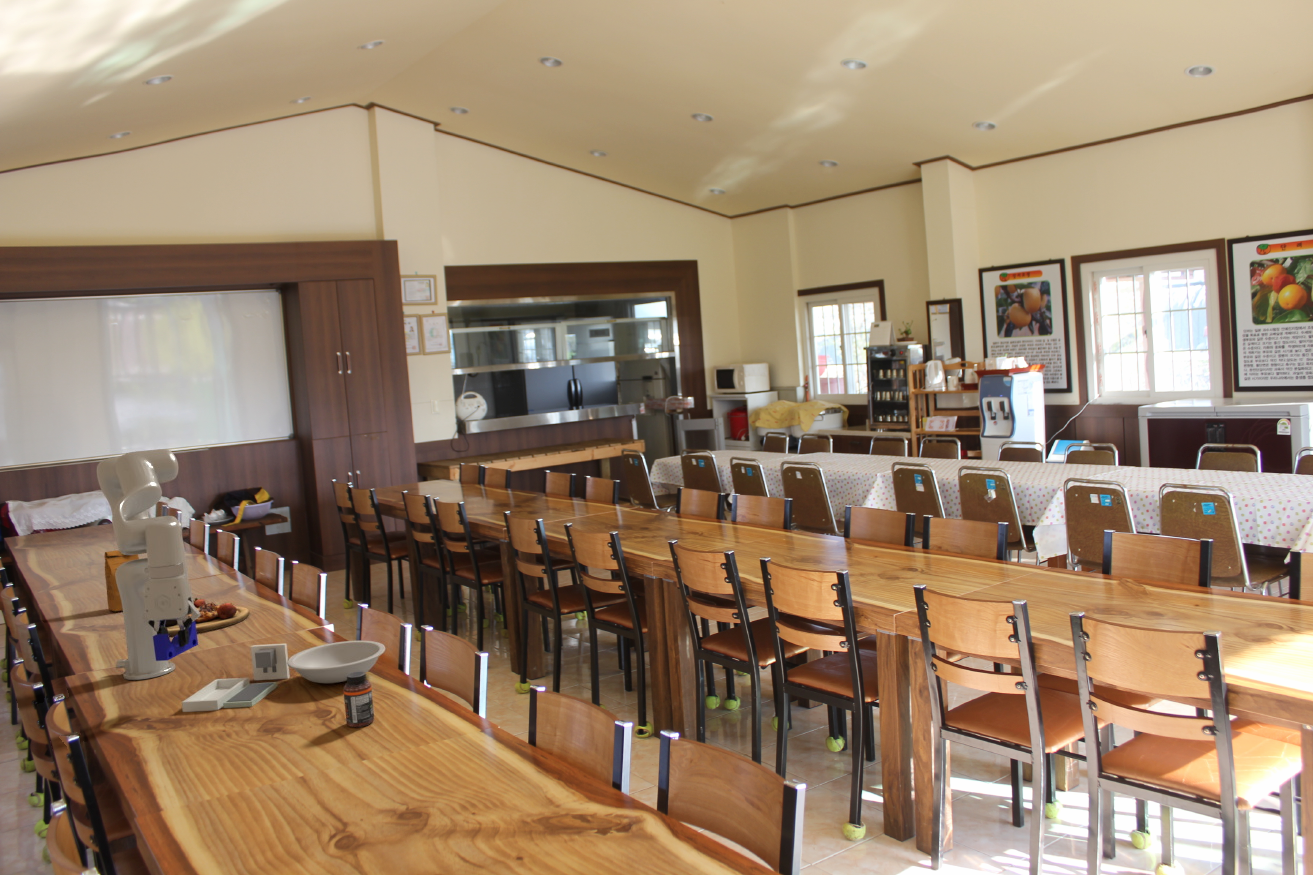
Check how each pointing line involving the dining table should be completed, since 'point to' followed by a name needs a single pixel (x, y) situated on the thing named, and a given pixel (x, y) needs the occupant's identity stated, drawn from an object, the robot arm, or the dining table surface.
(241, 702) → the phone
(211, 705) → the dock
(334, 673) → the soup bowl
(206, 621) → the wooden plate with food
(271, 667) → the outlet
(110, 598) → the coffee package
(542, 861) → the dining table surface
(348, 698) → the supplement bottle
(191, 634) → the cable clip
